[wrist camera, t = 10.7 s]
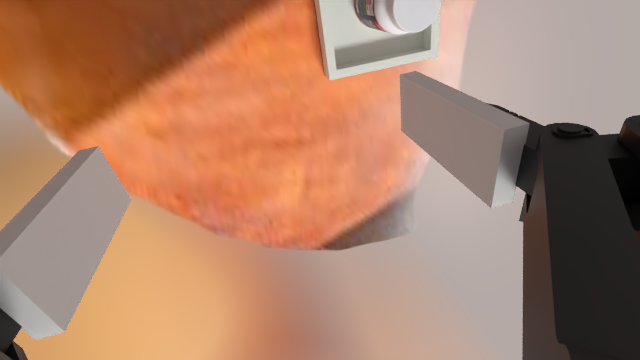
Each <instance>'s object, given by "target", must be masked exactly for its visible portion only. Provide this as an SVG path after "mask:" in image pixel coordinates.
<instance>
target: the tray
mask: <svg viewBox="0 0 640 360" xmlns="http://www.w3.org/2000/svg"><path fill="white" fill-rule="evenodd" d="M314 2H315V9H316V16H317V23H318V30H319V38H320V45H321V52H322V59H323V66H324V73H325V76H326V77H327V78H328V79H329V80H334V79H338V78H343V77H347V76H352V75H357V74H361V73H366V72H370V71H375V70H379V69H384V68H389V67H393V66H398V65H402V64H407V63H411V62H416V61H421V60H425V59H430V58H434V57H438V43H439V23H440V9H439V12H438V14H437V16H436V18H435V20H434V21H433V22H432V23H431V24H430V25H429V26H428V27H427V28H425V29H424V30H422V31H419V32H414V33H411V32H408V33H405V34H399V35H395V34H391V33H387V32H383V31H380V30H376V29H372V28H369V27H367V26H365V25H363V24H362V23H361V22H360V21H359V19H358V18H357V16H356V14H355V11H354V5H353V0H314Z"/></svg>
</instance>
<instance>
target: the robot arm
mask: <svg viewBox="0 0 640 360" xmlns="http://www.w3.org/2000/svg"><path fill="white" fill-rule="evenodd" d="M400 95H401V131H402V132H404V133H405V134H406V135H407V136H408V137H409V138H410V139H412V140H413V141H414V142H415V143H416V144H417V145H419V146H420V147H421V148H422V149H423V150H424V151H426V152H427V153H428V154H429V155H430V156H431V157H432V158H434V159H435V160H436V161H437V162H438V163H440V164H441V165H442V166H443V167H444V168H445V169H446V170H448V171H449V172H450V173H451V174H452V175H453V176H454V177H456V178H457V179H458V180H459V181H460V182H461V183H463V184H464V185H465V186H466V187H467V188H469V189H470V190H471V191H472V192H473V193H474V194H475V195H476V196H478V197H479V198H480V199H481V200H482V201H484V202H485V203H486V204H487V205H488V206H489V207H490V208H494V207H498V206H501V205H504V204H508V203H511V202H513V199H514V195H515V190H516V186H517V187H519V188H520V189H522V190H523V191H524V192H526V194H525V198H524V203H523V207H522V212H521V215H520V220H519V221H523V224H524V225H523V360H640V115H637V116H632V117H629V118H626V120H625V121H624V124H623V126H622V129H621V131H620V134H608V135H599V134H598V133H597V132H596V131H595V130H594V129H592V128H590V127H587V126H583V125H580V124H573V123H554V124H549V125H547V126H543V125H540V124H538V123H536V122H534V121H531V120H529V119H527V118H525V117H523V116H518V115H517V114H516V113H513V112H509V110H507V109H505V108H502V107H500V106H498V105H492V104H488V103H484V102H482V101H480V100H478V99H476V98H474V97H471V96H469V95H467V94H465V93H463V92H461V91H458V90H456V89H454V88H452V87H450V86H447V85H445V84H443V83H441V82H439V81H437V80H434V79H432V78H430V77H428V76H426V75H424V74H421V73H419V72H417V71H414V72H410V73H405V74H401V75H400ZM130 201H131V198H130V197H129V195H128V193H127V192H126V190H125V188H124V187H123V185H122V184H121V182H120V180H119V179H118V177H117V176H116V174H115V172H114V171H113V169H112V167H111V166H110V164H109V163H108V161H107V159H106V158H105V156H104V154H103V153H102V151H101V150H100V148H99V146H97V147H93V148H89V149H85V150H81V151H78V152H77V153H76V154H75V155H74V156H73V158H72V159H71V160H70V161H69V162H68V163H67V164H66V165H65V166H64V167H63V168H62V169H61V170H60V171H59V172H58V173H57V174H56V175H55V176H54V177H53V178H52V179H51V180H50V181H49V182H48V183H47V184H46V185H45V186H44V187H43V188H42V189H41V190H40V191H39V192H38V193H37V194H36V195H35V196H34V197H33V198H32V199H31V200H30V201H29V202H28V203H27V205H26V206H24V208H23V209H22V210H21V211H20V212H19V213H18V214H17V215H16V216H15V217H14V218H13V219H12V220H11V221H10V222H9V223H8V224H7V225H6V226H5V227H4V228H3V229H2V230H1V231H0V360H28V359H27V357H26V355H25V353H24V351H23V349H22V348H21V347H20V346H19V345H17V344H16V343H15V342H14V341H13V339H14V338H15V337H16V335H17V334H18V332H19V330H20V329H21V328H22V329H23V330H24V331H26V332H27V333H28V334H29V335H30V336H32V337H33V338H34V339H35V340H39V339H42V338H46V337H49V336H52V335H56V334H59V333H63V332H65V330H66V328H67V326H68V324H69V322H70V320H71V318H72V317H73V315H74V313H75V310H76V308H77V306H78V304H79V303H80V301H81V299H82V297H83V295H84V293H85V291H86V289H87V287H88V285H89V283H90V281H91V279H92V276H93V275H94V273H95V271H96V269H97V267H98V265H99V263H100V261H101V259H102V257H103V255H104V253H105V251H106V249H107V247H108V245H109V243H110V241H111V239H112V237H113V235H114V233H115V231H116V229H117V227H118V225H119V223H120V221H121V219H122V217H123V215H124V213H125V211H126V209H127V207H128V205H129V203H130Z"/></svg>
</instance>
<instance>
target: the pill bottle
mask: <svg viewBox="0 0 640 360" xmlns="http://www.w3.org/2000/svg"><path fill="white" fill-rule="evenodd" d="M353 5H354V11H355V14H356V16H357V18H358V19H359V21H360V22H361V23H362V24H363V25H365V26H367V27H369V28H372V29H376V30H380V31H383V32H387V33H391V34H395V35H399V34H405V33H408V32H411V33H414V32H419V31H422V30H424V29H425V28H427V27H428V26H429V25H430V24H431V23H432V22H433V21H434V20H435V18H436V16H437V14H438V12H439V9H440V6H441V0H353Z"/></svg>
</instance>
